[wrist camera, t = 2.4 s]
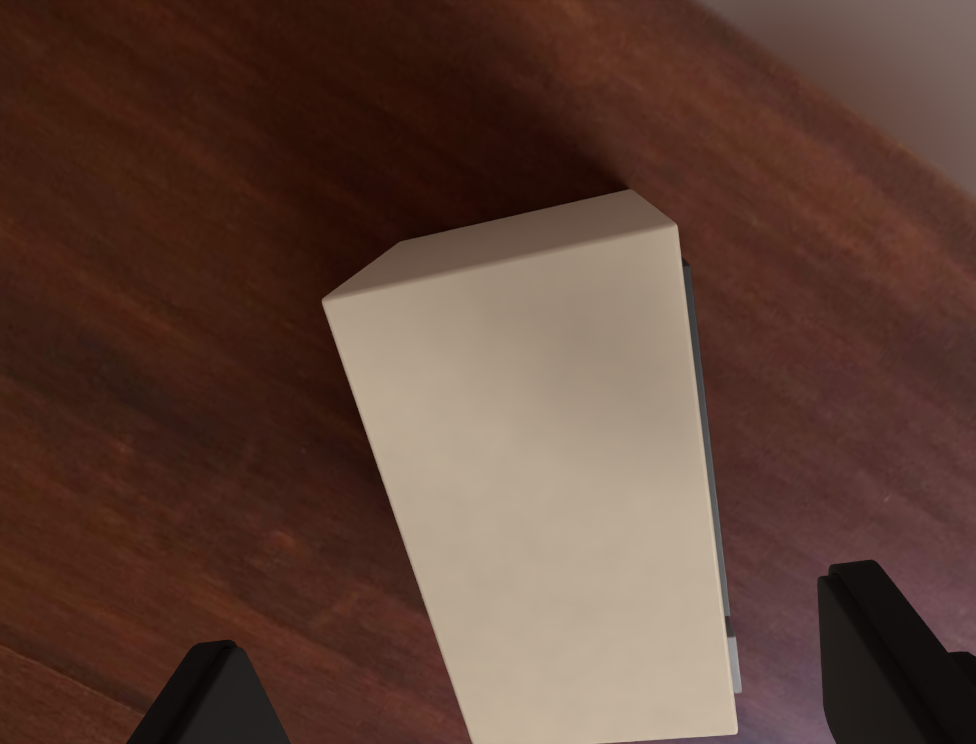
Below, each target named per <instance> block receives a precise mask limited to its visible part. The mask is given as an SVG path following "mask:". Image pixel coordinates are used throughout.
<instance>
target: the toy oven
mask: <svg viewBox="0 0 976 744" xmlns="http://www.w3.org/2000/svg"><path fill="white" fill-rule="evenodd" d="M322 305H323V308H324V310H325V313H326V316H327V319H328V322H329V325H330V328H331V331H332V334H333V337H334V340H335V343H336V346H337V349H338V351H339V354H340V357H341V360H342V363H343V366H344V369H345V372H346V375H347V378H348V381H349V384H350V387H351V390H352V392H353V395H354V398H355V401H356V404H357V407H358V410H359V413H360V416H361V419H362V422H363V425H364V428H365V431H366V433H367V436H368V439H369V442H370V445H371V448H372V451H373V454H374V457H375V460H376V463H377V466H378V469H379V472H380V474H381V477H382V480H383V483H384V486H385V489H386V492H387V495H388V498H389V501H390V504H391V507H392V510H393V513H394V515H395V518H396V521H397V524H398V527H399V530H400V533H401V536H402V539H403V542H404V545H405V548H406V551H407V553H408V556H409V559H410V562H411V565H412V568H413V571H414V574H415V577H416V580H417V583H418V586H419V589H420V592H421V594H422V597H423V600H424V603H425V606H426V609H427V612H428V615H429V618H430V621H431V624H432V627H433V630H434V633H435V635H436V638H437V641H438V644H439V647H440V650H441V653H442V656H443V659H444V662H445V665H446V668H447V671H448V674H449V676H450V679H451V682H452V685H453V688H454V691H455V694H456V697H457V700H458V703H459V706H460V709H461V712H462V715H463V717H464V720H465V723H466V726H467V729H468V732H469V735H470V738H471V741H472V744H598V743H613V742H628V741H643V740H658V739H673V738H688V737H703V736H718V735H733V734H737V732H738V725H737V716H736V708H735V700H734V693H741V692H742V687H741V678H740V669H739V660H738V652H737V643H736V636H735V633H734V630H733V627H732V624H731V622H730V619H729V616H730V615H731V612H730V603H729V595H728V586H727V577H726V569H725V560H724V551H723V543H722V534H721V525H720V517H719V508H718V499H717V491H716V482H715V473H714V465H713V456H712V447H711V439H710V430H709V421H708V413H707V404H706V396H705V387H704V378H703V370H702V361H701V352H700V344H699V335H698V326H697V318H696V309H695V300H694V292H693V283H692V274H691V266H690V264H689V263H688V262H687V261H686V260H685V259H684V258H683V257H681V251H680V243H679V235H678V227H677V225H676V223H675V222H674V221H672V220H671V219H670V218H668V217H667V216H666V215H664V214H663V213H662V212H660V211H659V210H658V209H657V208H655V207H654V206H653V205H651V204H650V203H649V202H647V201H646V200H645V199H644V198H642V197H641V196H640V195H638V194H637V193H636V192H634V191H633V190H630V189H629V190H624V191H620V192H616V193H611V194H607V195H602V196H598V197H594V198H589V199H585V200H580V201H576V202H572V203H567V204H563V205H559V206H554V207H550V208H545V209H541V210H537V211H532V212H528V213H523V214H519V215H515V216H510V217H506V218H502V219H497V220H493V221H488V222H484V223H480V224H475V225H471V226H466V227H462V228H458V229H453V230H449V231H445V232H440V233H436V234H431V235H427V236H423V237H418V238H414V239H409V240H405V241H401V242H399V243H397V244H396V245H395V246H393V247H392V248H391V249H389V250H388V251H387V252H385V253H384V254H382V255H381V256H380V257H378V258H377V259H376V260H374V261H373V262H372V263H370V264H369V265H367V266H366V267H365V268H363V269H362V270H361V271H359V272H358V273H357V274H355V275H354V276H353V277H351V278H350V279H348V280H347V281H346V282H344V283H343V284H342V285H340V286H339V287H338V288H336V289H335V290H334V291H332V292H331V293H329V294H328V295H327V296H325V297H324V298H323V299H322Z"/></svg>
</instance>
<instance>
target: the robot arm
mask: <svg viewBox="0 0 976 744" xmlns="http://www.w3.org/2000/svg"><path fill="white" fill-rule="evenodd" d="M817 587H818V607H819V627H820V647H821V668H822V688H823V706H824V712H825V716H826V720H827V723H828V726H829V728H830V731H831V733H832V735H833V738H834V740H835V742H836V744H976V657H975V656H974V655H972V654H970V653H969V652H961V651H960V652H950V653H948V652H947V651H946V649H945V648H944V647H943V646H942V644H941V643H940V642H939V640H938V639H937V638H936V637H935V635H934V634H933V633H932V631H931V630H930V629H929V628H928V626H927V625H926V624H925V622H924V621H923V620H922V619H921V617H920V616H919V615H918V613H917V612H916V611H915V610H914V608H913V607H912V606H911V605H910V603H909V602H908V601H907V599H906V598H905V597H904V596H903V594H902V593H901V592H900V590H899V589H898V588H897V587H896V585H895V584H894V583H893V581H892V580H891V579H890V578H889V576H888V575H887V574H886V573H885V571H884V570H883V569H882V567H881V566H880V565H879V564H878V563H877V562H876V561H874V560H865V561H857V562H849V563H841V564H833V565H830V567H829V574H828V576H821V577H818V581H817ZM126 744H291V743H290V741H289V739H288V737H287V735H286V733H285V731H284V729H283V727H282V725H281V723H280V721H279V719H278V717H277V715H276V713H275V711H274V709H273V707H272V705H271V703H270V701H269V699H268V696H267V694H266V692H265V690H264V688H263V686H262V684H261V682H260V680H259V678H258V676H257V674H256V672H255V670H254V668H253V666H252V664H251V662H250V660H249V658H248V656H247V654H246V652H245V651H244V649H242V648H240V647H239V648H238V646H237V645H236V643H235V642H233V641H232V640H221V641H213V642H205V643H198V644H196V645H194V646H193V647H192V648H191V649H190V650H189V652H188V653H187V655H186V656H185V657H184V659H183V660H182V662H181V663H180V665H179V666H178V668H177V669H176V671H175V672H174V674H173V675H172V677H171V678H170V680H169V681H168V683H167V684H166V685H165V687H164V688H163V690H162V691H161V693H160V694H159V696H158V697H157V699H156V700H155V702H154V703H153V705H152V706H151V708H150V709H149V711H148V712H147V713H146V715H145V716H144V718H143V719H142V721H141V722H140V724H139V725H138V727H137V728H136V730H135V731H134V733H133V734H132V736H131V737H130V739H129V740H128V742H127V743H126Z"/></svg>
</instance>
